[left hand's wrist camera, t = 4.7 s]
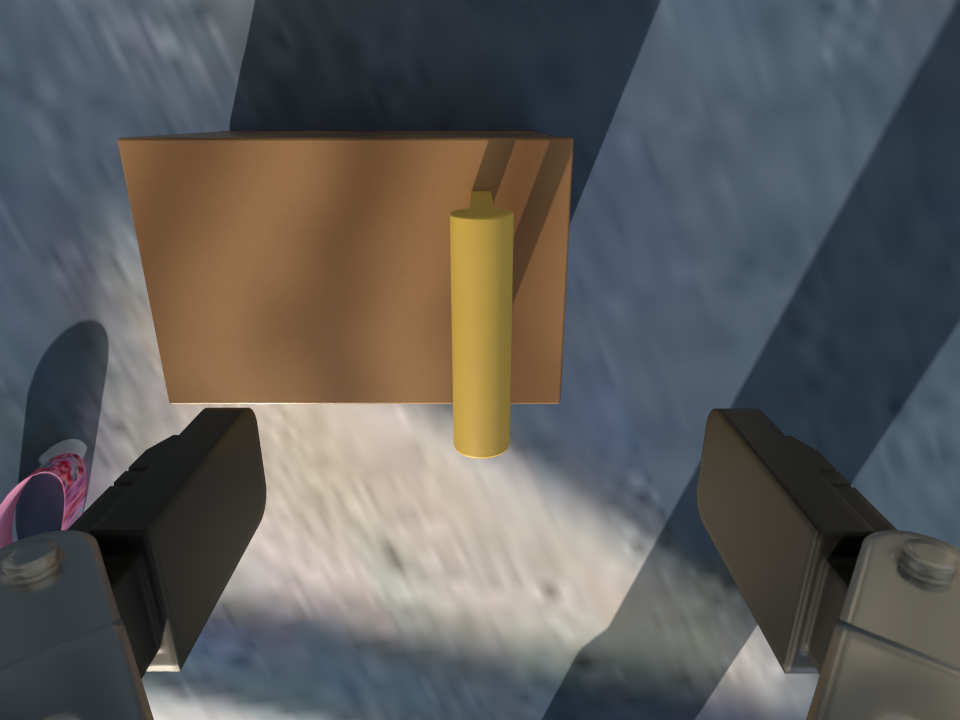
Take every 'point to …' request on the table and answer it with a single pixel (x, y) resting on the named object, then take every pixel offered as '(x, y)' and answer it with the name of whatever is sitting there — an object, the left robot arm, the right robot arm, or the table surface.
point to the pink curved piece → (74, 486)
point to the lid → (358, 271)
